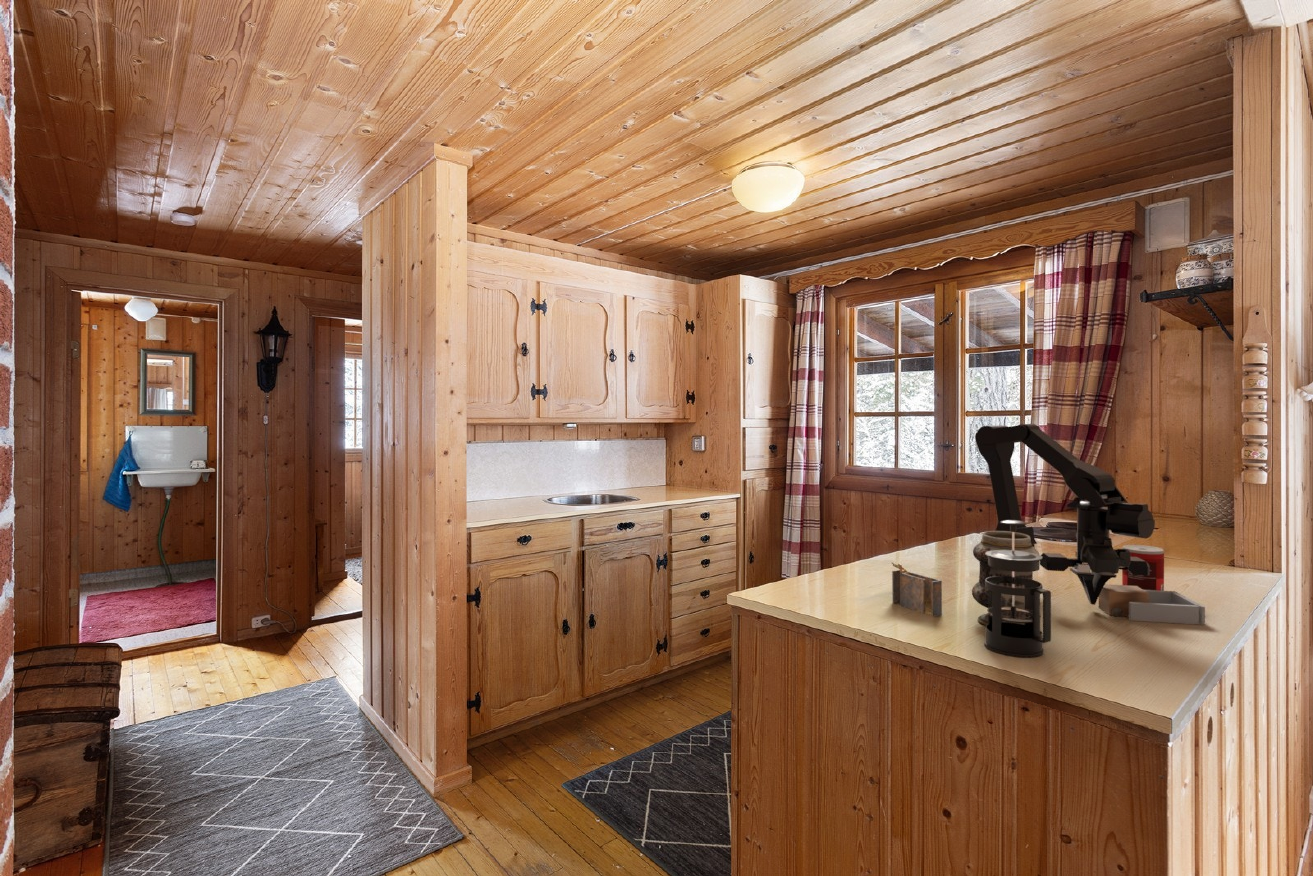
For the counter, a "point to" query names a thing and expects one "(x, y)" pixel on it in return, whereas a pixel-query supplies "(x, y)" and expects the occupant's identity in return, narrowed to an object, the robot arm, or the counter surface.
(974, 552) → the apothecary jar
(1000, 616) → the french press
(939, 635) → the counter surface
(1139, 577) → the canned food
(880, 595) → the counter surface
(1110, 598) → the brown toy brick
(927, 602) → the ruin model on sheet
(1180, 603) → the dock
